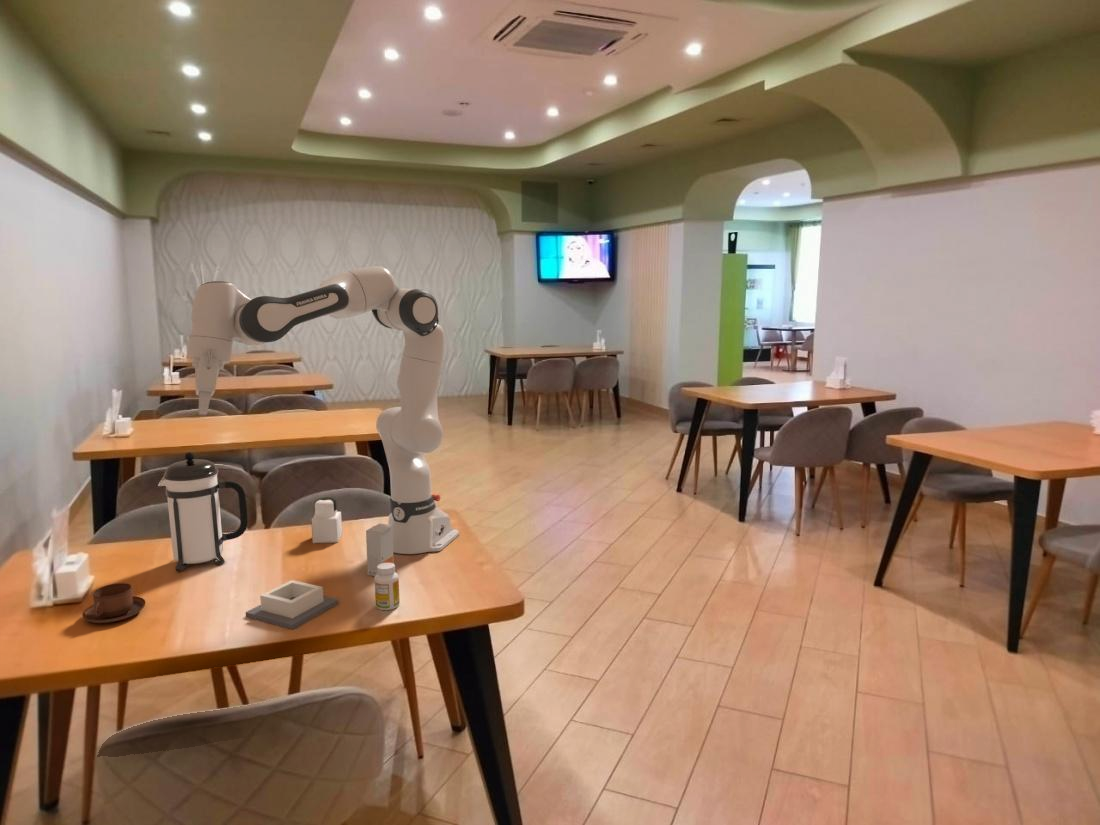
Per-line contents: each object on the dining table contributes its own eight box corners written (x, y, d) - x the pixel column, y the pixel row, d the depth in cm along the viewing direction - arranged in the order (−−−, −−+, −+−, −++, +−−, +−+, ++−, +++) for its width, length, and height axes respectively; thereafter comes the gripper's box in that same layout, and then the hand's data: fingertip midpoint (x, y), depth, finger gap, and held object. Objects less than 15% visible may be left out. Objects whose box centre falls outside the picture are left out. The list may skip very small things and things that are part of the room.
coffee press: (201, 576, 180) (191, 461, 175) (154, 568, 185) (142, 456, 180) (251, 552, 196) (243, 446, 191) (207, 545, 201) (197, 442, 196)
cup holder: (293, 592, 170) (292, 574, 169) (338, 603, 164) (337, 585, 163) (245, 616, 158) (244, 597, 157) (292, 629, 152) (291, 609, 151)
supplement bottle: (394, 598, 167) (393, 559, 165) (403, 607, 162) (401, 566, 161) (372, 604, 164) (370, 564, 162) (380, 613, 159) (378, 572, 158)
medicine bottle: (317, 535, 210) (315, 496, 208) (342, 534, 211) (340, 495, 209) (312, 543, 203) (309, 503, 201) (338, 542, 204) (335, 502, 202)
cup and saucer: (138, 624, 155) (135, 597, 154) (75, 631, 151) (71, 604, 150) (151, 601, 166) (149, 576, 165) (93, 607, 163) (90, 582, 162)
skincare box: (381, 577, 179) (379, 532, 177) (367, 575, 180) (365, 530, 178) (394, 568, 184) (393, 524, 182) (380, 566, 186) (378, 522, 184)
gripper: (227, 349, 150) (220, 414, 149) (223, 359, 169) (216, 417, 168) (194, 345, 148) (186, 411, 147) (193, 355, 166) (186, 414, 165)
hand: (202, 414), depth 157 cm, fingers open, 8 cm apart
